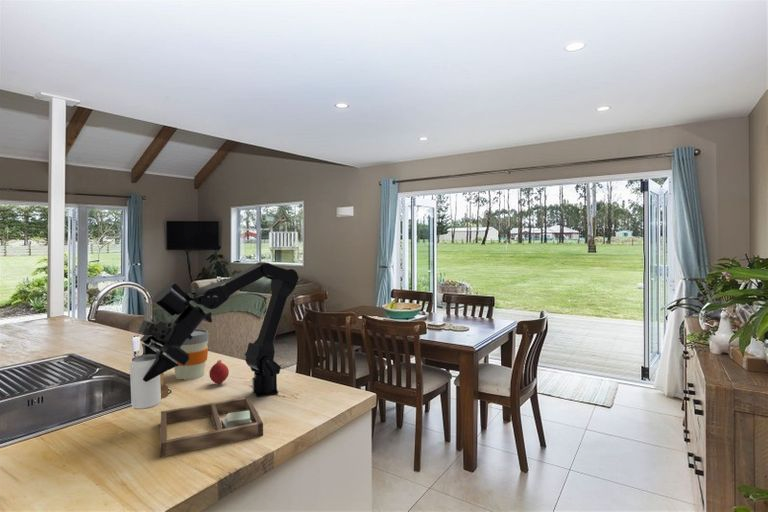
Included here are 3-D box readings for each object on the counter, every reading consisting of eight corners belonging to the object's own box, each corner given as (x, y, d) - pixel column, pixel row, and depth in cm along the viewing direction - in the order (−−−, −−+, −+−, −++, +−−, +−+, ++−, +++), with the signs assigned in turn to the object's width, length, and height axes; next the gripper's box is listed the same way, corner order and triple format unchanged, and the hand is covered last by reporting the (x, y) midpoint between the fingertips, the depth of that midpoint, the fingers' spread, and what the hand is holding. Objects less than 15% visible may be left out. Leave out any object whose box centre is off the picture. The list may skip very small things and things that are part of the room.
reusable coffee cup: (204, 380, 141) (203, 336, 140) (164, 382, 139) (163, 337, 138) (213, 368, 153) (212, 328, 153) (176, 370, 151) (175, 329, 151)
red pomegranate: (222, 388, 134) (221, 363, 134) (205, 386, 135) (205, 362, 135) (232, 381, 140) (231, 358, 139) (216, 380, 141) (216, 357, 140)
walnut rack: (249, 407, 119) (249, 396, 119) (263, 435, 102) (262, 423, 102) (161, 422, 109) (161, 411, 109) (160, 456, 92) (160, 443, 92)
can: (148, 398, 110) (146, 352, 109) (167, 401, 107) (165, 355, 107) (125, 407, 104) (123, 359, 103) (144, 411, 101) (142, 362, 101)
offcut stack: (249, 423, 109) (249, 408, 109) (254, 433, 103) (254, 417, 103) (221, 428, 106) (220, 413, 105) (224, 439, 100) (223, 423, 100)
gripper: (147, 303, 114) (101, 352, 106) (174, 312, 101) (124, 368, 93) (178, 327, 120) (136, 375, 112) (208, 338, 107) (163, 393, 100)
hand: (139, 377), depth 104 cm, fingers closed on can, 6 cm apart
